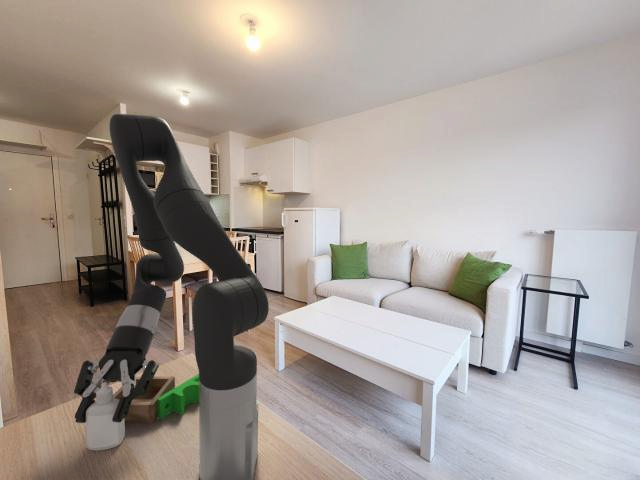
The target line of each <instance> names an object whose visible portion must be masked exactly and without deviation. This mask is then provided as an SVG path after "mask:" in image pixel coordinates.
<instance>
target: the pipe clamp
mask: <svg viewBox="0 0 640 480" xmlns="http://www.w3.org/2000/svg"><path fill="white" fill-rule="evenodd" d="M191 403H192V404H193V403H198V404H199V373H198V374H196V375H194V376H192V377H191V378H188V379H187V380H186V381H183V382H182V383H181V384H179V385H178V386H177V385H176V386H175V388H174V389H172V390H171V391H169V392H167V393H166V394H164V395H162V396H161V397H159V398H157V419H159V420H162V419H164V418H165V417H166V416H168V415H170V414H171V413H173V412H175V413H177V414H178V415H181V416H182V415H184V414H185V407H186V405H188V404H191Z"/></svg>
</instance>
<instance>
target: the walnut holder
mask: <svg viewBox="0 0 640 480" xmlns="http://www.w3.org/2000/svg"><path fill="white" fill-rule="evenodd" d="M140 378H141V376H136V385H137V383H138V381H139V380H140ZM136 385H135V387H136ZM174 388H176V378H175V376H174V375H173V376H154V377H153V379H152V381H151V383H150V385H149V387H148V389H147V391H146V393H145V394H144V395H139V396H137V397H135V398H133V400H132V402H131V405H130V408H129V411H128V413H127V416H126V417H125V419H124V421H125V424H154V422H155V421H156V420H157V419H158V418H157V398H159V397H161V396H162V395H164V394H166V393H167V392H169V391H171V390H172V389H174ZM113 398H115V399H119V400H120V398H123V386H122V385H121V386H120V387H119V389H118V390H116V391H115V393H113Z"/></svg>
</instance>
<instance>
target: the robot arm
mask: <svg viewBox="0 0 640 480" xmlns="http://www.w3.org/2000/svg"><path fill="white" fill-rule="evenodd" d="M109 132H110V133H109V135H110V139H111V145H112V148H113V152H114V155H115V157H116V158H115V159H116V162H117V164H118V169H119V171H120V174H121V177H122V180H123V183H124V186H125V189H126V191H127V195H128V197H129V201H130V203H131V207H132V210H133V213H134V214H133V215H134V218H135V223H136V228H137V234H138V240H139V243H140V246H141V247H142V248H143V249H145V250H147V251H150V252H154V253H147V254H145V255H142V257H140V258H139V260H138V261H137V262H136V267H135V277H134V285H133V291H132V294H131V296H130V298H129V300H128V303H127V304H126V307H125V309H124V311H123V312H122V314H121V315H120V317H119V319H118V322H117V324H116V326H115V328H114V331H113V333H112V334H111V337H110V339H109V341H108V343H107V345H106V349H105V352H104V355H103V356H102V357H100V359H99V360H95V361H90V360H85V361H84V362H83V363H82V365H81V368H80V371H79V374H78V376H77V381H76V384H75V387H74V390H73V393H74V394H76V395H78V396H81V401H80V403H79V405H78V407H77V410H76V412H75V414H74V419H75V423H78V424H86V411H87V409H88V408H89V407H90V405H92V404H93V403H95V402H96V392H97V391H98V390H99V389H101V385H102V383H104V382H106V383H107V386H108V387H109V386H110V383H116V382H117V383H118V382H120V383H121V387H122V386H123V398H120V400H119V403H118V405H117V408H116V411H115V413H114V416H113V419H112V421H113V422H121V421H122V420H123V419H125V417H126V416H127V413H128V411H129V408H130V405H131V402H132V400H133V398H135V397H137V396H139V395H144V394H145V393H146V391H147V389H148V387H149V385H150V383H151V381H152V379H153V377H155V375H156V374H157V373H156V372H157V371H158V369H159V367H160V365H159V364H158V363H157V362H156V361H155V360H153V359H151V360H147V358H146V356H147V354H148V353H149V350H150V347H151V344H152V342H153V338H154V335H155V333H156V331H157V329H158V325H159V320H160V316H161V313H162V309H163V307H164V304H165V301H166V298H167V291H166V290H165V289H164V288H162V287H161V286H158V285H155V284H153V283H154V282H155V283H156V282H157V283H176V282H178V281H179V280H180V279H181V278H182V276H183V275H184V271H185V264H184V260H183V258H182V256H181V254H180V251H179V250H178V248H177V245H178V246H179V247H181V248H182V249H184V250H185V251H186V252H188V253H189V254H191V255H192V256H193V257H195V258H196V259H198V260H199V261H200V262H202V263H204V264H205V265H206V266H207V267H208V269H210V270H211V271H212V273H213V274H214V275H215V277H216V278H217V280H218V281H212V282H208V283H205V284H203V285H201V286H200V287H199V288H197V290H196V292H195V295H194V297H193V303H192V326H193V339H194V354H195V361H196V366H197V370H198V374H199V403H198V409H199V410H198V419H199V421H198V425H199V426H198V427H199V428H198V432H199V433H198V434H199V436H198V439H199V440H198V443H199V446H198V447H199V464H198V465H199V467H198V468H199V480H254V475H255V470H256V463H257V457H258V453H259V452H258V451H259V404H257V387H258V386H257V383H258V382H257V380H258V378H257V377H258V375H257V374H258V359H257V355H256V353H255V352H254V351H253V350H252V349H251V348H248V347H245V346H243V345H237V344H236V345H235V341H234V340H235V339H234V337H236V336H238V335H241V334H244V333H245V332H248V331H250V330H252V329H254V328H257V327H259V326H260V325H262V324H263V323H265V321H266V319H267V318H268V316H269V315H268V314H269V310H270V309H269V308H270V307H269V306H270V305H269V299H268V296H267V294H266V291H265V289H264V287H263V285H262V283H261V282H260V280H259V278H258V277H257V276H256V274H255V273H254V271H253V270H252V269H251V268H250V266H249V264H248V263H247V262H246V260H245V259H244V258H243V256H242V255H241V253H239V251H238V249H237V248H236V247H235V245H234V243H233V242H232V240H231V239H230V237H229V235H228V234H227V232H226V231H225V228H224V226H223V225H222V224H221V222H220V220H219V218H218V217H217V215H216V213H215V211H214V209H213V207H212V205H211V203H210V201H209V200H208V198H207V196H206V195H205V193H204V192H203V190H202V188H201V186H200V185H199V183H198V182H197V180H196V178H195V177H194V174H193V173H192V171H191V169H190V167H189V165H188V164H187V162H186V159H185V157H184V155H183V152H182V150H181V148H180V145H179V143H178V141H177V139H176V137H175V134H174V132H173V130H172V128H171V126H170V125H169V124H168V123H167V121H166V120H165V119H164V118H163V117H159V116H154V115H141V114H128V113H127V114H126V113H116V114H113V115H112V116H111V117H110V119H109ZM156 161H157V162H161V163H163V165H164V171H163V174H162V177H160V181H159V182H158V184H157V187H156V190H155V191H154V192H153V191H152V190H151V189H150V188H149V186H148V185H147V183H146V182H145V181H144V180H143V178H142V176H141V173H140V171H139V169H138V165H137V163H138V162H156ZM176 244H177V245H176ZM98 369H99V370H100V371H99V372H98ZM141 370H142V374H141V376H140V377H141V378H140V380H139V381H138V383H137V385H136V377H137V374H138V373H139V371H141ZM97 372H98V373H97ZM95 373H97V374H96V375H95ZM94 375H95V376H94ZM135 385H136V387H135Z"/></svg>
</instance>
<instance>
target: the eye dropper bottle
mask: <svg viewBox="0 0 640 480" xmlns="http://www.w3.org/2000/svg"><path fill="white" fill-rule="evenodd" d="M113 390H114V389H113V387H112V386H109V385H108V386H107V383H106V382H104V383H102V385H101V389H99V390H98V391H97V392H96V398H95V403H93V404H92V405H90V407H89V408H88V409H87V411H86V422H85V432H86V448H87V449H88V451H89V450H90V451H104V450H105V451H106V450H109V449H113V448H116V447H118V446H119V445H121V443H122V442H123V440H124V439H125V437H126V428H125V427H126V425H125V424H126V423H125V421H124V419H123V420H122V421H121V422H113V421H112V419H113V416H114V413H115V411H116V408H117V405H118V403H119V399H115V398H113V395H114V393H113Z"/></svg>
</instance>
